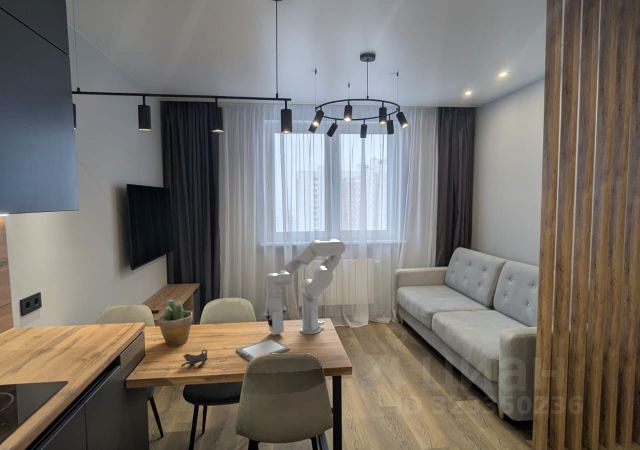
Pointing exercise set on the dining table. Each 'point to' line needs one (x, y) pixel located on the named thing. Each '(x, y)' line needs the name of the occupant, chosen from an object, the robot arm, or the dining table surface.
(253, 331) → the dining table surface
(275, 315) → the small box
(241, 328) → the dining table surface
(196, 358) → the dog figurine
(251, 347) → the writing board
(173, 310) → the potted plant
